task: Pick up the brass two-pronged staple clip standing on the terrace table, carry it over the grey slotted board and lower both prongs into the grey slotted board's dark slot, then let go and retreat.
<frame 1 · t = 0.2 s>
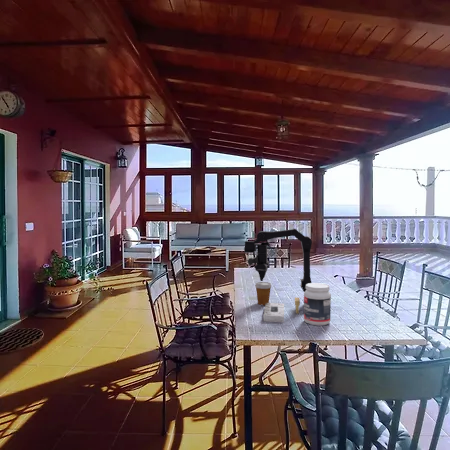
hand: (262, 279, 208), 14 cm above the table, fingers open, 9 cm apart
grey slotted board: (274, 314, 187), on the table
disposable coffee cup: (263, 304, 209), on the table
clip: (297, 312, 192), on the table
supplement tub: (317, 322, 175), on the table
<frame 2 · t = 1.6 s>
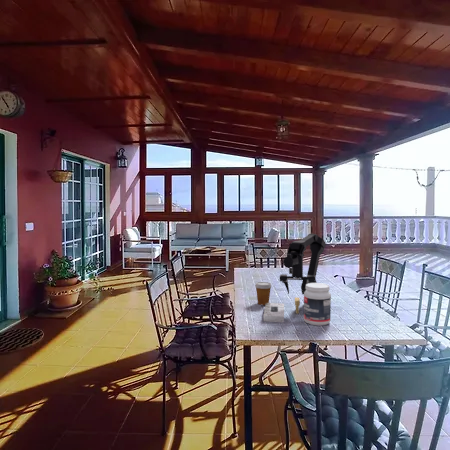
hand: (297, 294, 192), 10 cm above the table, fingers open, 9 cm apart
nothing on the table moved.
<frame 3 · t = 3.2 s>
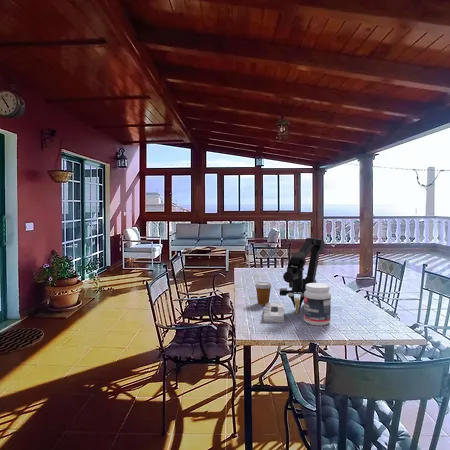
hand: (297, 308, 192), 2 cm above the table, fingers closed on clip, 2 cm apart
clip: (297, 311, 192), on the table, touching gripper
everything else where it was.
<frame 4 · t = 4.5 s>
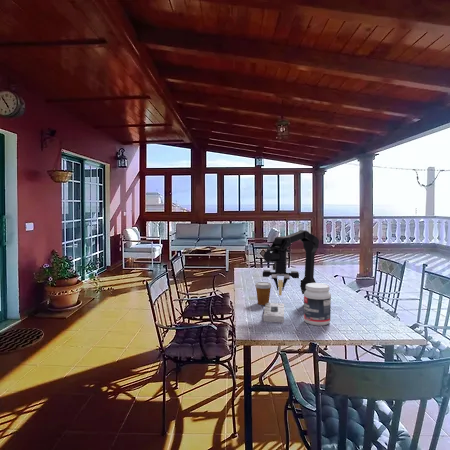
hand: (280, 290, 188), 13 cm above the table, fingers closed on clip, 2 cm apart
clip: (280, 294, 188), point 11 cm above the table, touching gripper
everything else where it was.
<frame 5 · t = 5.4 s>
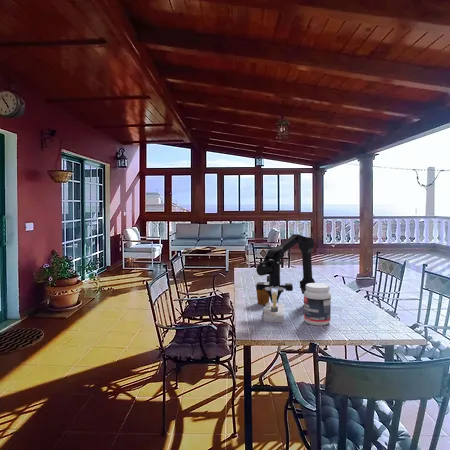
hand: (274, 302, 187), 6 cm above the table, fingers closed on clip, 2 cm apart
clip: (274, 306, 187), point 4 cm above the table, touching gripper
everything else where it was.
when the fingers open (3 cm above the table, at t = 6.2 s): clip drops 1 cm, resting on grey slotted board.
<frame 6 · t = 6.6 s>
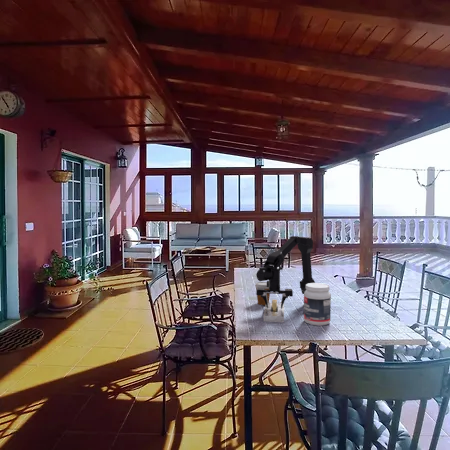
hand: (274, 308, 187), 3 cm above the table, fingers open, 7 cm apart
clip: (274, 314, 187), resting on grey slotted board
everything else where it was.
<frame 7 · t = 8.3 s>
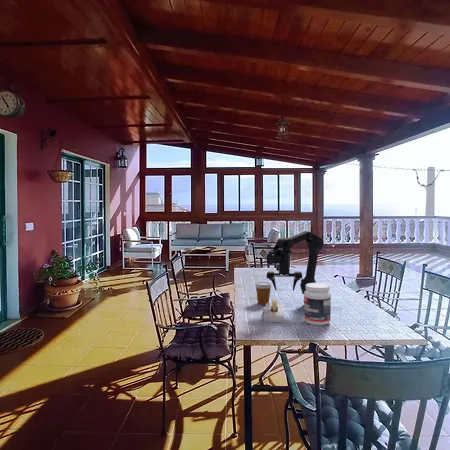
hand: (284, 290, 192), 11 cm above the table, fingers open, 9 cm apart
nothing on the table moved.
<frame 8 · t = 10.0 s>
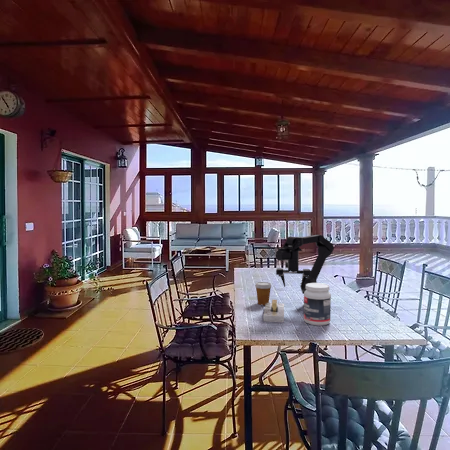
hand: (293, 287, 198), 12 cm above the table, fingers open, 9 cm apart
nothing on the table moved.
at the end: clip 0.1 cm off-centre on the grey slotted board, point 0.2 cm above the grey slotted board's base; clip tilted 0°; the gripper is holding nothing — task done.
